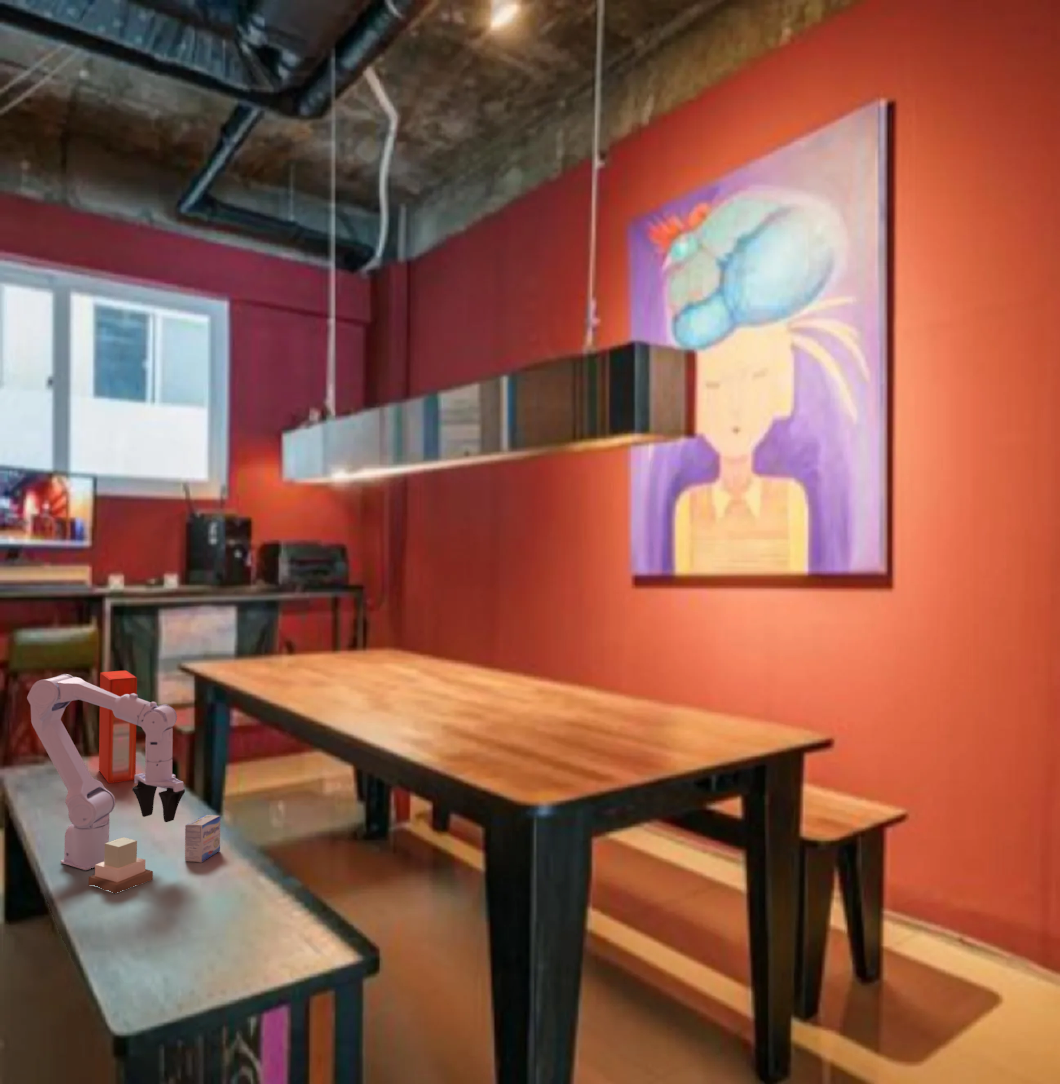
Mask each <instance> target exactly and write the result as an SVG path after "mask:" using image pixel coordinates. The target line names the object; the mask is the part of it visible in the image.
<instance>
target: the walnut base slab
mask: <svg viewBox="0 0 1060 1084" xmlns="http://www.w3.org/2000/svg"><path fill="white" fill-rule="evenodd" d="M153 879H154V871H153V870H150V869H146V868H145V871H144V872H142V873H139V874H137V875H134V876H132V877H129V878H127V879H124V880H122V881H119V882H114V881H111V880H107V879H104V878H100V877H96V876H95V874H92V875H90V876H88V883H87V884H88V886H89V885H95V886H98V887H100V888H102V889H104V890H109V891H111V892H113V893H117V892H120V891H122V890H125V891H127V890H126V889H128V888H130V887H133V886H135V885H138V886H141V885H143V884H145V882H146V883H148V882H150V881H153ZM147 881H148V882H147ZM142 883H143V884H142ZM135 887H136V886H135ZM133 888H134V887H133ZM130 889H131V888H130ZM104 890H103V891H104ZM128 890H129V889H128ZM122 892H123V891H122ZM113 893H112V894H113ZM120 893H121V892H120ZM117 894H118V893H117Z"/></svg>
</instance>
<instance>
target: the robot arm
mask: <svg viewBox="0 0 1060 1084" xmlns="http://www.w3.org/2000/svg"><path fill="white" fill-rule="evenodd" d="M26 699H27V701H28V703H29V705H30V719H31V720H30V722H31V724H32V727H33V729H34V731H35V733H36V735H37V737H38V738H39V740H40V741H41V744H42V746H43V748H44V750H45V751H46V753H47V754H48V757H49V759H50V760H51V763H52V765H53V766H54V767H55V770H56V772H57V773H58V775H59V777H60V779H61V780H62V782H63V784H64V786H65V788H66V790H67V794H66V798H65V805H66V807H67V810H68V819H69V821H70V822H71V823H70V824H69V826H68V827H67V828H66V830H65V833H64V849H63V850H64V851H63V852H64V857H63V859H61V860H60V863H61V864H64V865H67V866H71V867H73V868H75V869H76V868H77V869H79V870H83V871H88V870H91V868H92V869H93V868H94V869H95V864H98V863H101V862H104V853H105V843H107V842H110V814H111V813H112V812H113V811H114V809H115V807H116V798H115V796H114V794H113V792H111V791H109V789H107V788H106V787H105V786H104V783H102V781H100V780H97V779H96V778H93V776H92V775H91V773H90V771H89V769H88V767H87V765H86V764H85V762H84V760H83V758H82V756H81V754H80V752H79V751H78V749H77V747H76V744H74V741H73V740H72V737H71V736H70V734H69V733H68V731H67V729H66V727H65V725H64V723H63V721H62V717H63V714H64V712H65V710H66V707H67V706H68V705H70V703H71V702H72V701H78V700H79V701H82V702H86V703H89V704H92V705H95V706H99V707H100V706H101V707H104V708H107V709H111V710H112V711H113V713H114V716H115V717H116V718H119V719H122V720H124V721H127V722H130V723H132V724H135V725H136V726H138V727H141V728H142V731H143V732H144V734H145V757H144V758H145V760H144V761H145V763H144V764H145V766H144V767H145V768H144V771H145V772H144V773H142V772H141V773H138V774H136V775H135V779H134V780H133V781H134V784H136V785H135V786H132V790H131V791H132V792H133V793H134V795H135V797H136V799H137V803H138V805H139V808H140V811H141V812H140V813H141V816H142V817H143V818H145V817H149V816H151V815H153V812H154V802H155V797H156V796H155V795H156V792H157V789H158V788H161V789H166V790H163V791H160V792H158V796H159V798H160V801H161V805H162V806H161V807H162V813H163V814H162V815H163V816H162V817H163V821H164V822H165V823H169V822H172V821H175V817H176V814H177V813H176V812H177V810H178V807H179V804H180V801H181V799H182V797H183V795H184V794H185V792H186V788H184V781H182V780H179V779H178V778H176V774H174V773H173V742H174V739H173V734H174V732H173V731H174V730H173V727H174V726H175V725H176V723H177V719H178V718H177V717H178V714H177V712H176V710H175V708H173V707H172V706H170V705H169V704H167V703H164V704H160V705H157V702H156V701H151V702H150V701H148V700H145V699H142V698H139V697H138V694H135V693H132V694H130V695H129V694H125V695H123V696H121V697H120V696H117V695H115V694H113V693H110V692H108V691H106V690H104V689H101V688H100V686H97V685H96V684H95V685H94V684H92V683H90V682H87V681H85V680H84V679H83V678H81V677H77V676H73V675H71V674H67V673H63V674H59V675H57V676H54V677H50V678H46V679H40V680H37V681H36V682H34V683H33V684H32V686H31V688H30V689H29V692H28V694H27V697H26Z"/></svg>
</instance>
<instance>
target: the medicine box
mask: <svg viewBox="0 0 1060 1084" xmlns="http://www.w3.org/2000/svg"><path fill="white" fill-rule="evenodd" d="M184 830H185V831H184V835H185V836H184V861H185V862H189V863H191V862H192V863H203V862H205V861H206V859H207V860H208V859H210V858H211V857H213V856H214V855H216V854H218V853H219V852H220V851H221V815H215V814H205V815H202V816H200V817H198V818H197V819H194V820H193V821H191V822H188V823H187V824H185V828H184ZM217 852H218V853H217ZM212 855H213V856H212ZM209 857H210V858H209ZM204 860H205V861H204Z"/></svg>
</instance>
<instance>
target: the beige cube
mask: <svg viewBox="0 0 1060 1084" xmlns="http://www.w3.org/2000/svg"><path fill="white" fill-rule="evenodd" d="M137 850H138V840H136V839H131V838H128V837H124V836H122V837H120V838H117V839H115V840H111V841H110V840H109V842H107V843H105V853H104V864H105V865H108V866H112V867H116V868H120V867H123V866H125V865H128V864H131V863H134V862H136V861H137V858H138V856H137V854H138V853H137V852H138V851H137Z"/></svg>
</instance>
